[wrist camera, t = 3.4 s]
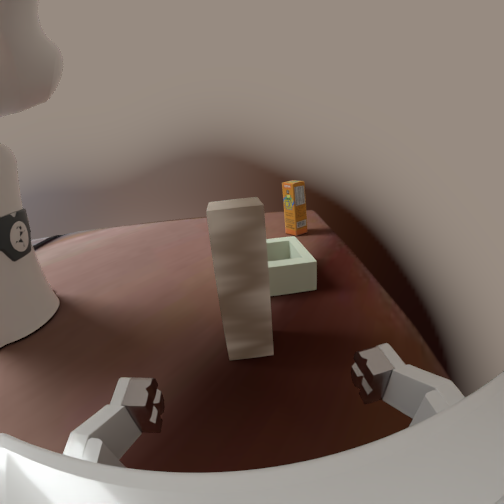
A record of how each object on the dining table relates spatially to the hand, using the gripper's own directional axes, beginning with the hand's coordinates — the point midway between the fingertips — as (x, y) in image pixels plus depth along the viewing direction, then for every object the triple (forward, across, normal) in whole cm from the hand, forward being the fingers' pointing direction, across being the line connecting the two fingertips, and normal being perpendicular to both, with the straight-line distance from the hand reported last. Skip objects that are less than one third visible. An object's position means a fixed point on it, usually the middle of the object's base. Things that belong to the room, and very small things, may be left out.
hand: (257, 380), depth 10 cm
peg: (+11, 0, +7) cm, 13 cm away
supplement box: (+42, -12, +7) cm, 44 cm away
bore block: (+24, -4, +7) cm, 25 cm away
